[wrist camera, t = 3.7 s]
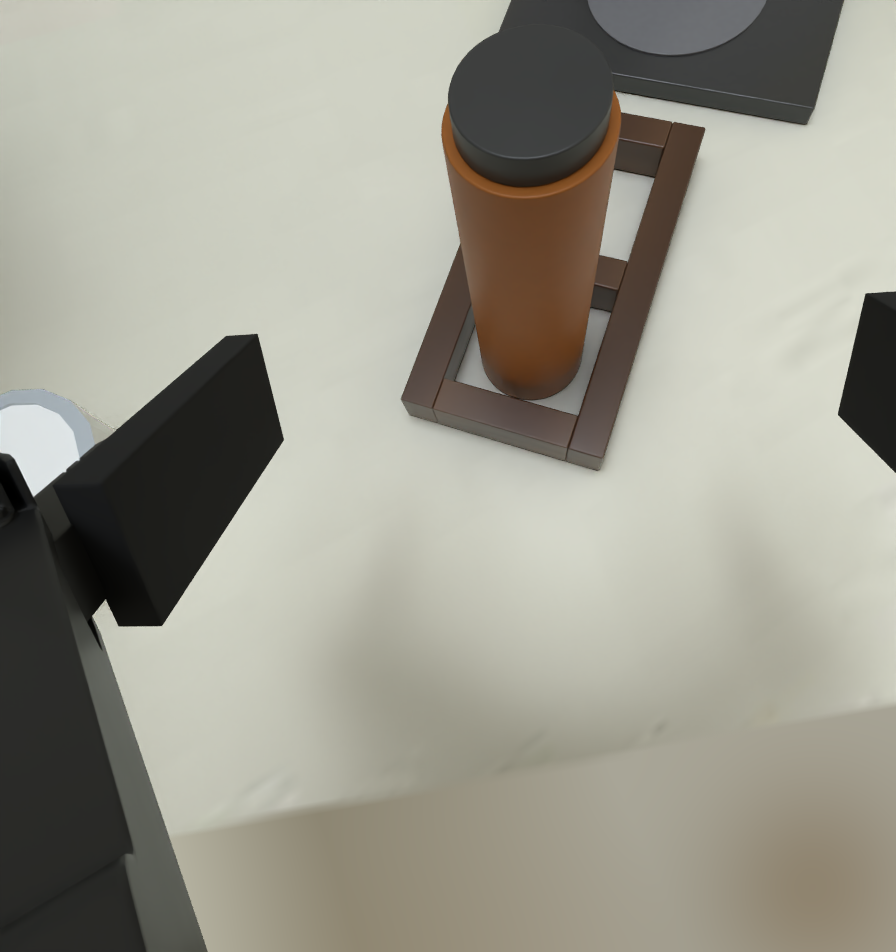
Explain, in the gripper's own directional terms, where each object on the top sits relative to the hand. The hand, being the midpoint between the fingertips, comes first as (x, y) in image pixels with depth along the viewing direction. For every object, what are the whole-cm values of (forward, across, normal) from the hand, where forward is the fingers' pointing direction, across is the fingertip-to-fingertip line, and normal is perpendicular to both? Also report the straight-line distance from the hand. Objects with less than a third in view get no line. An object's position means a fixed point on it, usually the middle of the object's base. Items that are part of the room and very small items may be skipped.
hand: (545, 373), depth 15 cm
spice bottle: (+15, 0, -5) cm, 16 cm away
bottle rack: (+18, +1, -3) cm, 18 cm away
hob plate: (+29, +8, +9) cm, 31 cm away
